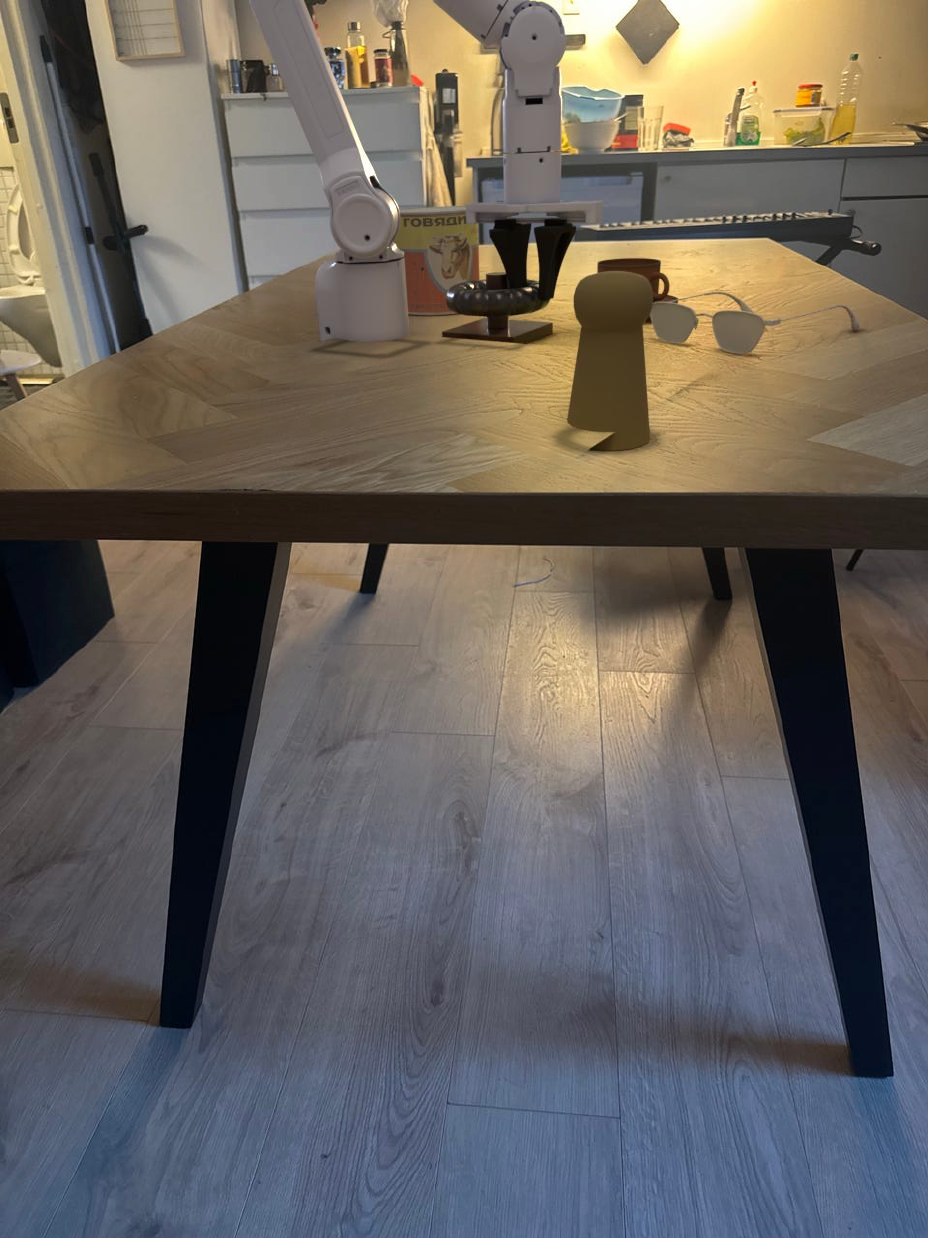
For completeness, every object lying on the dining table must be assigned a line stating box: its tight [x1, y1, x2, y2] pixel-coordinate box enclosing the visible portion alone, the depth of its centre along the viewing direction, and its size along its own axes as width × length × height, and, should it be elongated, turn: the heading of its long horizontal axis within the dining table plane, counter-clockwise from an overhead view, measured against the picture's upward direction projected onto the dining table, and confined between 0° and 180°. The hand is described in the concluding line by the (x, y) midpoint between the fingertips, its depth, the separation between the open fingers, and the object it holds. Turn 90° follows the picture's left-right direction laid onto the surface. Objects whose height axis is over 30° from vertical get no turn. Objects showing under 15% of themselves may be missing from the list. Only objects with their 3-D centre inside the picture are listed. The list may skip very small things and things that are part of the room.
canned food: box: [393, 205, 481, 316], centre depth 111 cm, size 11×11×12 cm
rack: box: [441, 271, 554, 345], centre depth 93 cm, size 9×9×7 cm
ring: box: [446, 278, 551, 318], centre depth 92 cm, size 11×11×3 cm
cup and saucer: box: [596, 257, 679, 319], centre depth 102 cm, size 12×12×6 cm
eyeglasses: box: [649, 291, 861, 355], centre depth 90 cm, size 15×18×4 cm
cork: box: [566, 271, 653, 452], centre depth 58 cm, size 6×6×11 cm
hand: (532, 298), depth 90 cm, fingers closed on ring, 3 cm apart
